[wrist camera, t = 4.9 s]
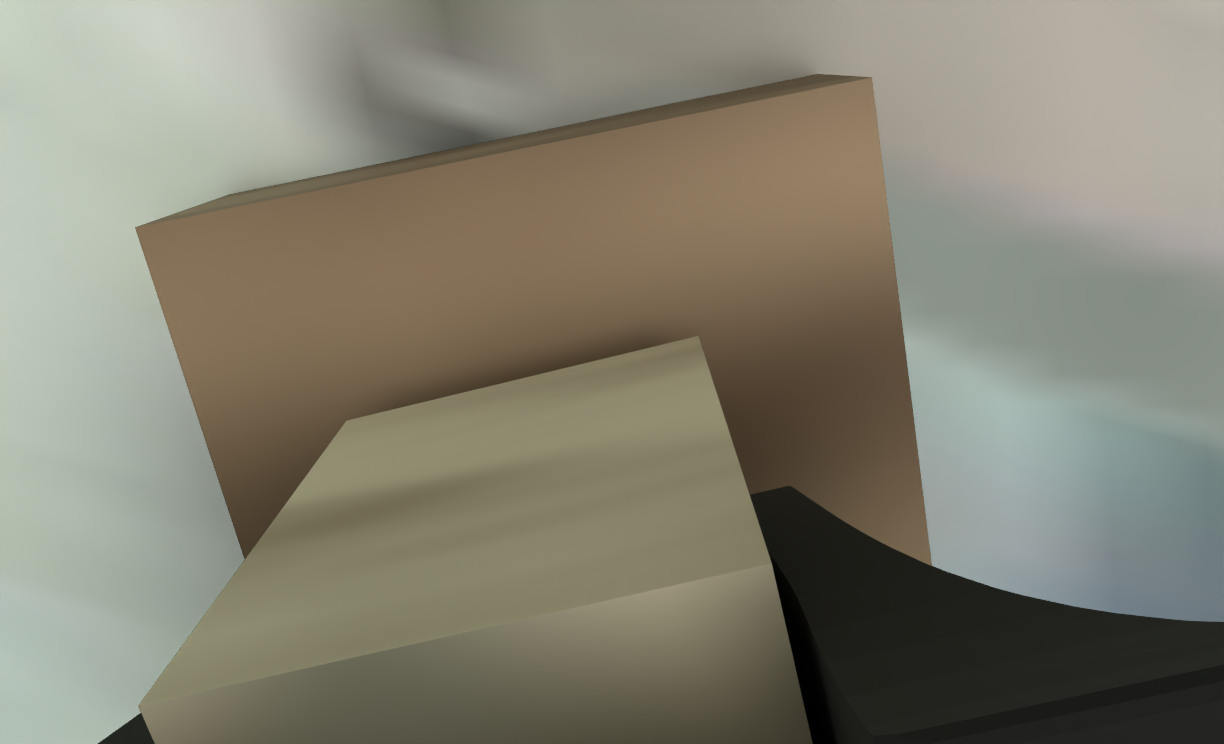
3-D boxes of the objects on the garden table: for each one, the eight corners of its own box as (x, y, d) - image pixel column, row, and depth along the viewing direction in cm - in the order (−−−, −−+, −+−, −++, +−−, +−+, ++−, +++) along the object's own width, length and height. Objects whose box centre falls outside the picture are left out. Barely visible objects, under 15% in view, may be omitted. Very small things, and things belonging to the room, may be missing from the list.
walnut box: (886, 600, 20) (951, 727, 16) (386, 689, 21) (334, 832, 17) (813, 73, 17) (871, 77, 14) (236, 192, 18) (135, 227, 14)
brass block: (771, 651, 14) (885, 1065, 8) (448, 723, 14) (341, 1168, 9) (698, 335, 13) (772, 562, 7) (346, 420, 13) (137, 706, 7)
